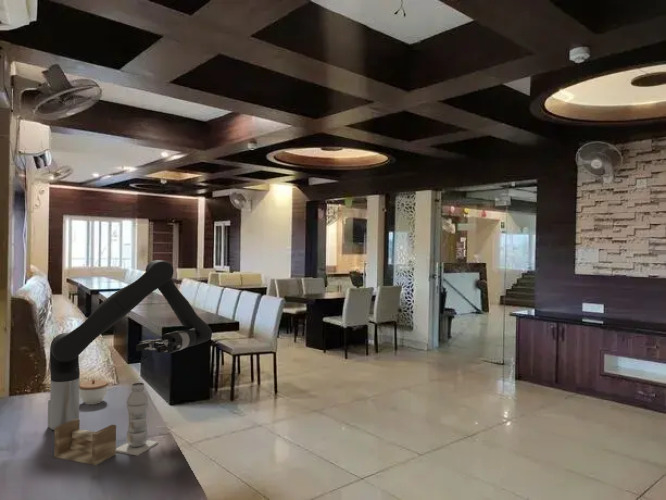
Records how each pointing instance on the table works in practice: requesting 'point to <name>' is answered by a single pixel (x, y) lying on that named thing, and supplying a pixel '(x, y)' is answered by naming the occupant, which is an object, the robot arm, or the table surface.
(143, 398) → the plastic bottle
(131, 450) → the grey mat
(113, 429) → the offcut rack
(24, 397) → the table surface
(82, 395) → the lidded jar
